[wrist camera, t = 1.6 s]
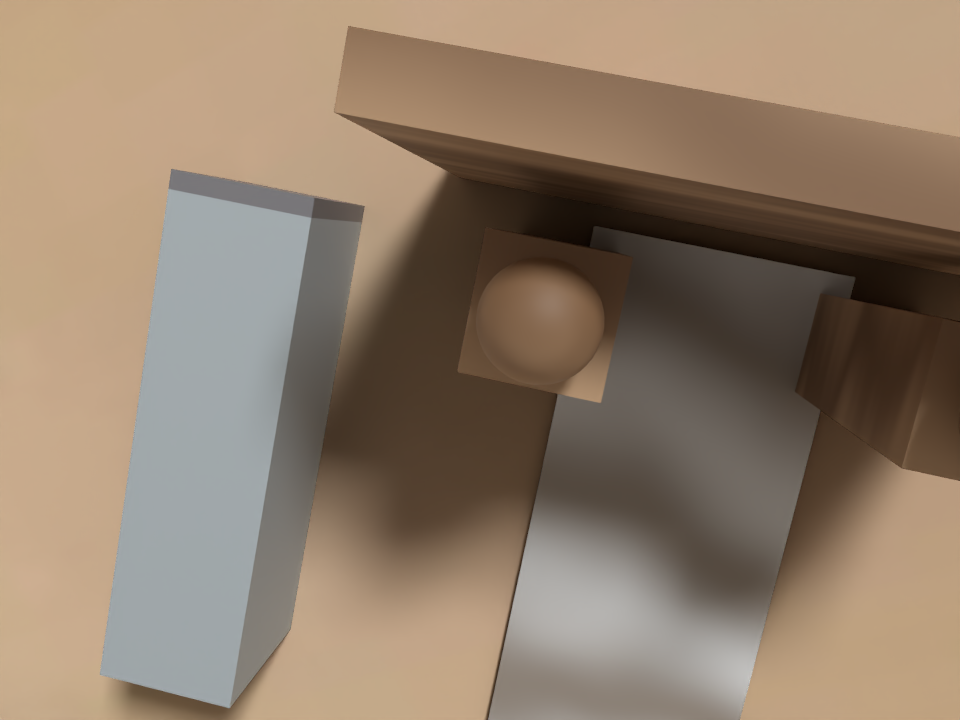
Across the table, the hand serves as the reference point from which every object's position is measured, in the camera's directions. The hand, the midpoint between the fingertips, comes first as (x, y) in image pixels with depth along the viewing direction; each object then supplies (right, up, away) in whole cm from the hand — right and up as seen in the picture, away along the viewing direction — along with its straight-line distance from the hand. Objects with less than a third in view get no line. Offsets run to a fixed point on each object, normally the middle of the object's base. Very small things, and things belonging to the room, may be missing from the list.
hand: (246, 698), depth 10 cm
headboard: (+9, -1, +22) cm, 24 cm away
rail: (-5, +1, +24) cm, 25 cm away
